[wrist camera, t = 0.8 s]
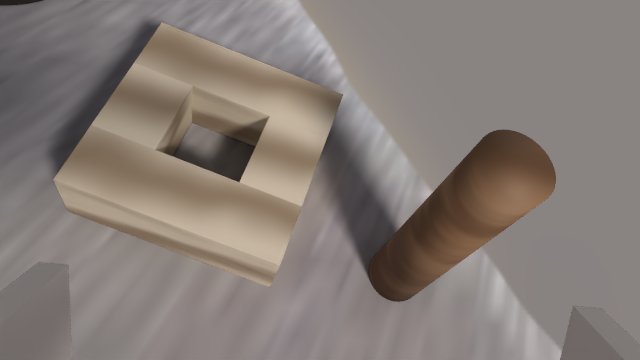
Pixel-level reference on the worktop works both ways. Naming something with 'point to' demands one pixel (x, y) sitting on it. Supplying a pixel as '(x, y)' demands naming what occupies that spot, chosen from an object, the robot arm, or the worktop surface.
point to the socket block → (193, 181)
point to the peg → (464, 213)
